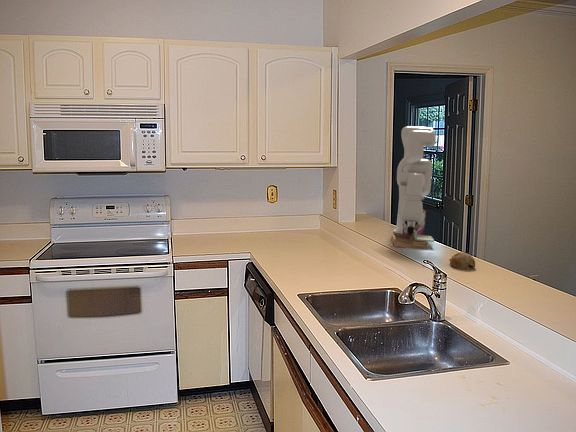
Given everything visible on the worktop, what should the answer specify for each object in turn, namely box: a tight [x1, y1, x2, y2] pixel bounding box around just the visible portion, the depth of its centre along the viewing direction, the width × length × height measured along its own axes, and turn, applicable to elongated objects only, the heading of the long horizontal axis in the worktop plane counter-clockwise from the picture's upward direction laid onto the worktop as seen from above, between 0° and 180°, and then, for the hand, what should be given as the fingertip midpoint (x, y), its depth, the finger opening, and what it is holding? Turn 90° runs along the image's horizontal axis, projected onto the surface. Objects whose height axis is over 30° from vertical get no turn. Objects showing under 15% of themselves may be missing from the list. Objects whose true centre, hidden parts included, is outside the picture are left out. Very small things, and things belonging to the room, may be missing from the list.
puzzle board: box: [391, 233, 429, 250], centre depth 274 cm, size 18×16×4 cm
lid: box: [412, 230, 435, 243], centre depth 273 cm, size 14×10×3 cm
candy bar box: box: [402, 209, 427, 235], centre depth 286 cm, size 11×5×16 cm, turn 84°
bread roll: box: [448, 252, 476, 270], centre depth 229 cm, size 10×10×8 cm
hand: (409, 234), depth 273 cm, fingers closed
